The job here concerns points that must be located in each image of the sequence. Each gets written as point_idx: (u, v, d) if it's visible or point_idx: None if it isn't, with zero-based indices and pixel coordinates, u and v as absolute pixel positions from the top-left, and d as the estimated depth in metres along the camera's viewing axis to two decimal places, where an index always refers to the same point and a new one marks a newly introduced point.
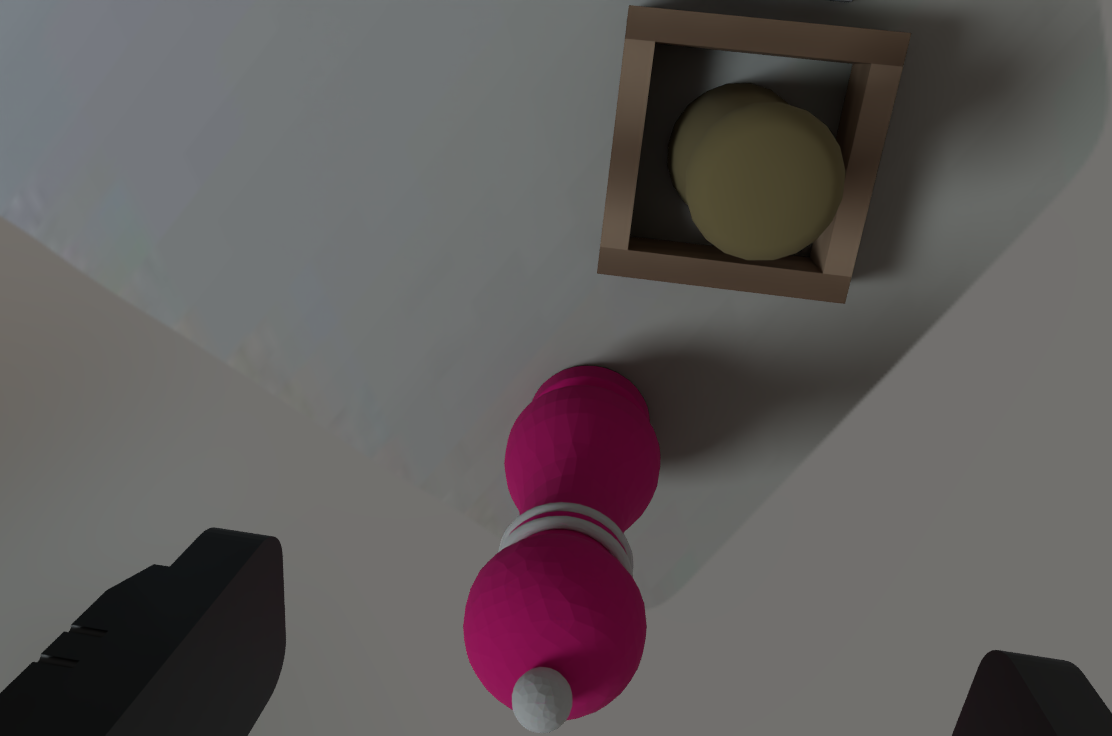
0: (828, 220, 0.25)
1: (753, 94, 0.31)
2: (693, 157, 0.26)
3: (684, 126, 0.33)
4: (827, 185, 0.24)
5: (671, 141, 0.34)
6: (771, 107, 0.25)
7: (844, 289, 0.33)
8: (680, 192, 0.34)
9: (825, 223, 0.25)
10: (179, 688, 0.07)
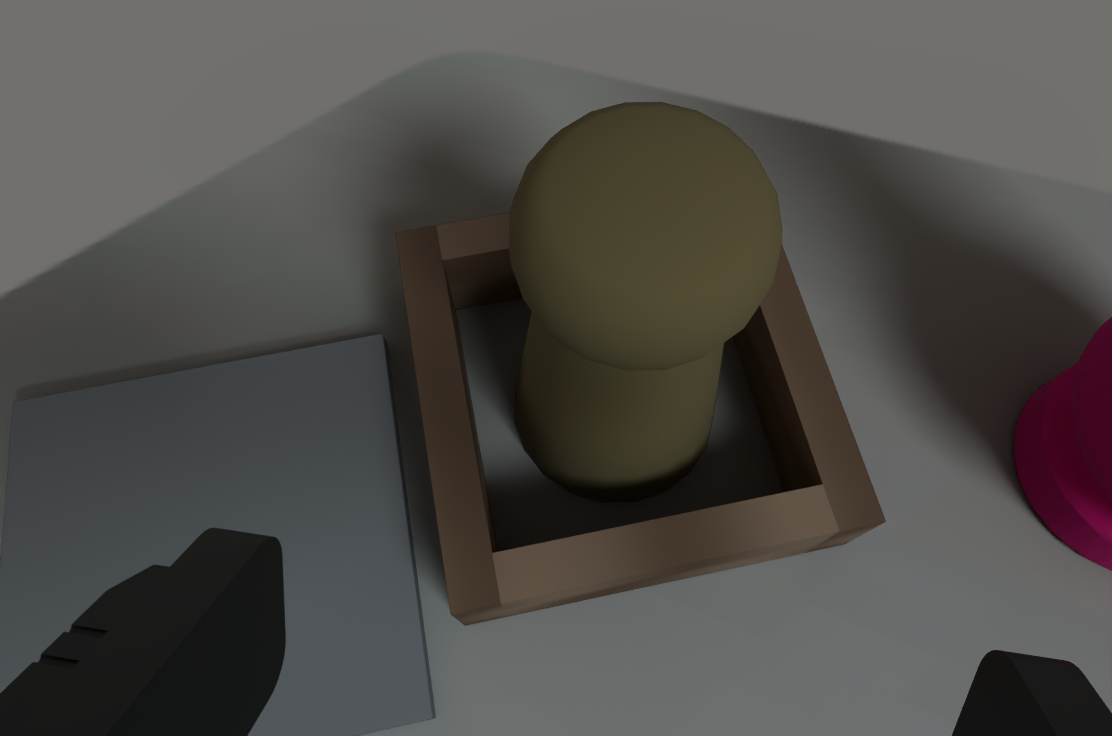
0: (661, 103, 0.15)
1: (524, 386, 0.21)
2: (644, 348, 0.14)
3: (600, 472, 0.21)
4: (609, 116, 0.14)
5: (628, 494, 0.22)
6: (519, 252, 0.14)
7: None
8: (695, 448, 0.21)
9: (668, 104, 0.15)
10: (178, 688, 0.07)
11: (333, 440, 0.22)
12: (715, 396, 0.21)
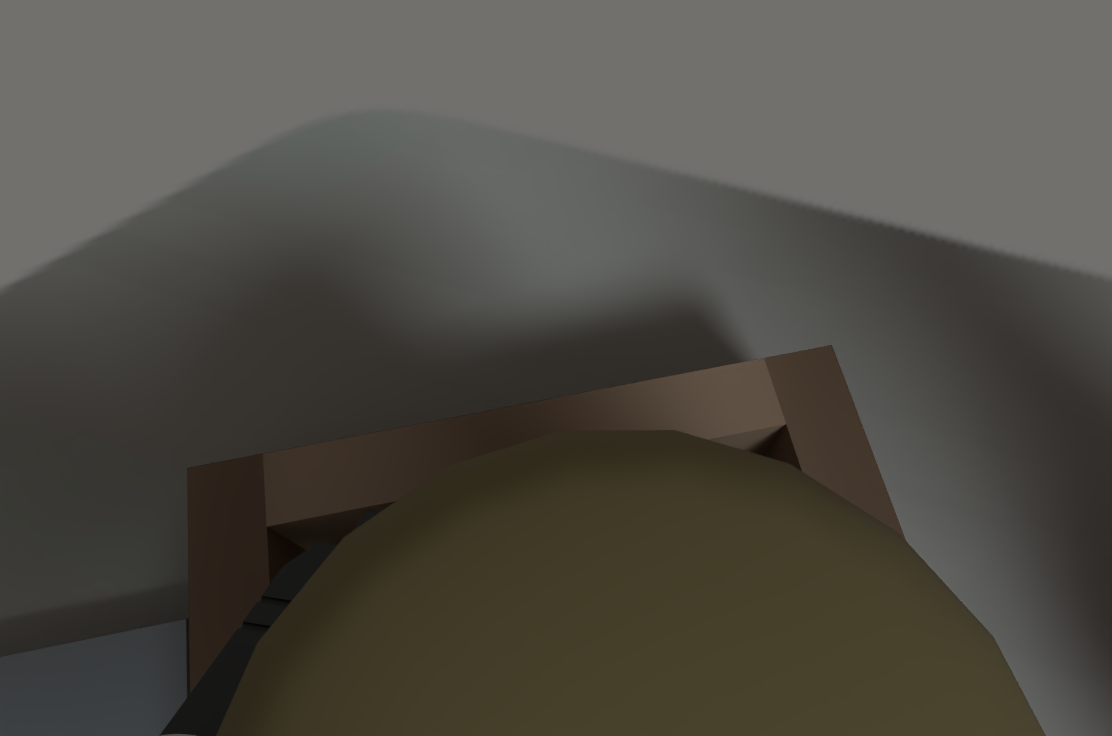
0: (683, 446, 0.05)
1: None
2: None
3: None
4: (509, 530, 0.04)
5: None
6: None
7: (799, 360, 0.13)
8: None
9: (704, 454, 0.05)
10: None
11: None
12: None
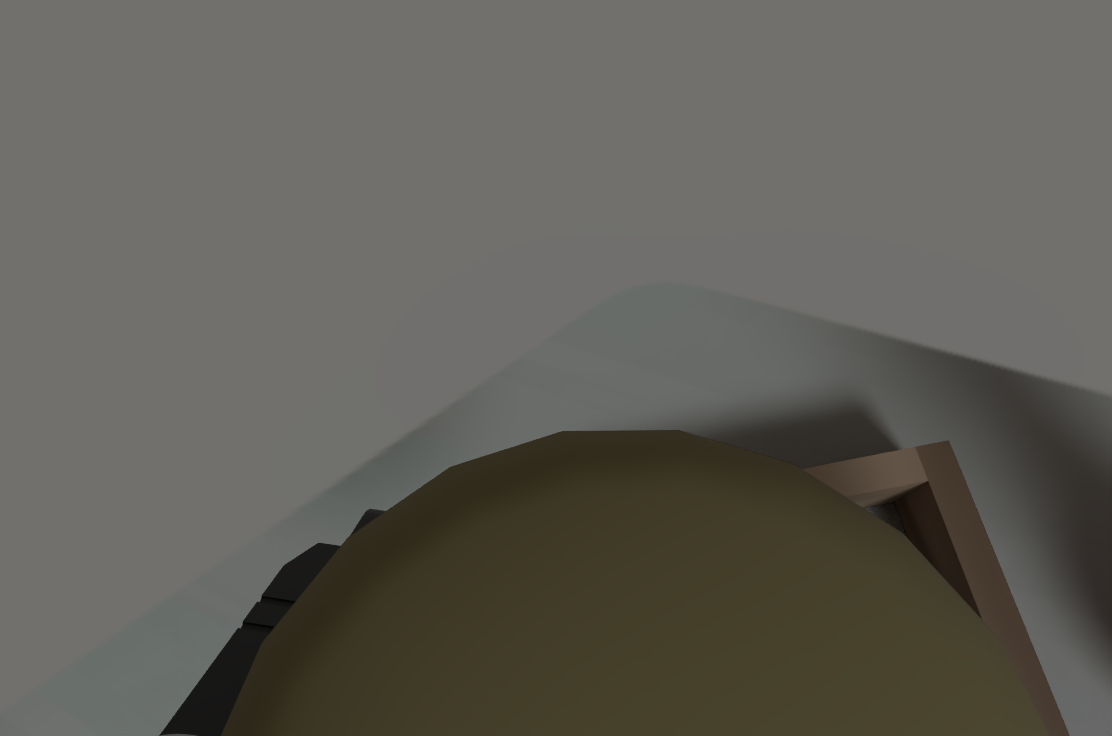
0: (688, 446, 0.05)
1: None
2: None
3: None
4: (513, 531, 0.04)
5: None
6: None
7: (933, 448, 0.26)
8: None
9: (708, 454, 0.05)
10: None
11: None
12: None
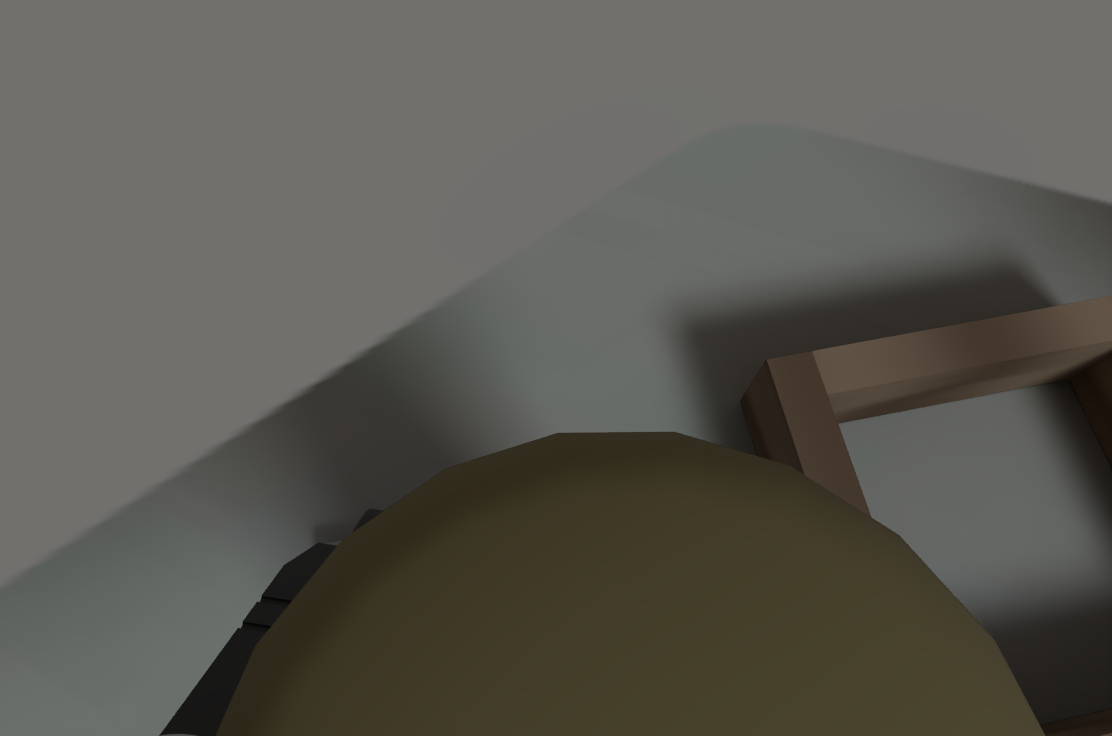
0: (684, 448, 0.05)
1: None
2: None
3: None
4: (509, 533, 0.04)
5: None
6: None
7: None
8: None
9: (704, 456, 0.05)
10: None
11: None
12: None
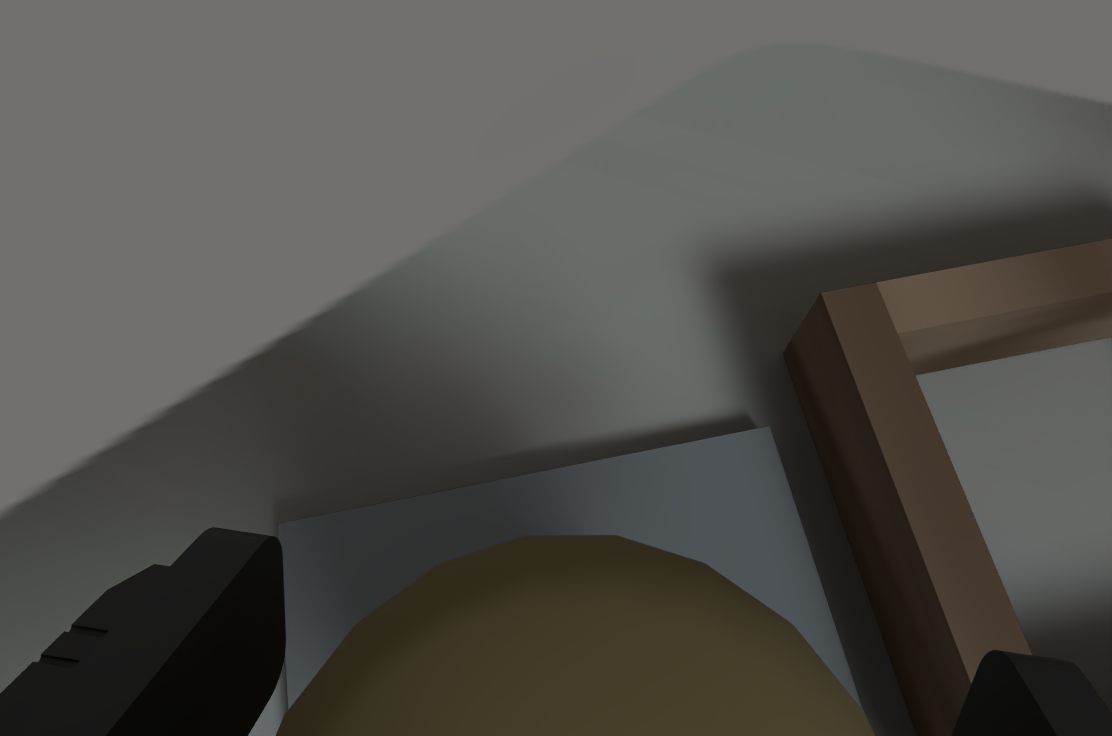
0: (621, 560, 0.06)
1: None
2: None
3: None
4: (481, 636, 0.05)
5: None
6: None
7: None
8: None
9: (637, 567, 0.06)
10: (179, 689, 0.07)
11: None
12: None
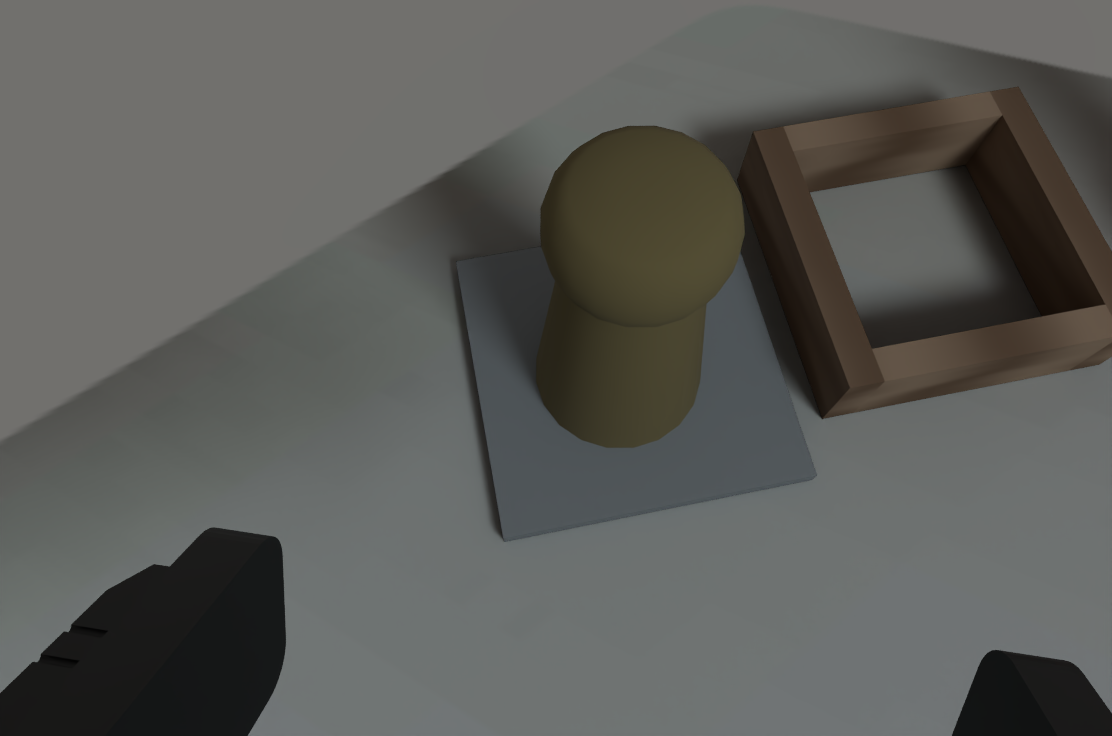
0: (656, 126, 0.20)
1: (545, 350, 0.26)
2: (641, 308, 0.19)
3: (606, 419, 0.25)
4: (617, 136, 0.19)
5: (628, 440, 0.27)
6: (549, 237, 0.19)
7: (1005, 92, 0.30)
8: (684, 402, 0.26)
9: (660, 127, 0.20)
10: (180, 689, 0.07)
11: None
12: (700, 360, 0.26)
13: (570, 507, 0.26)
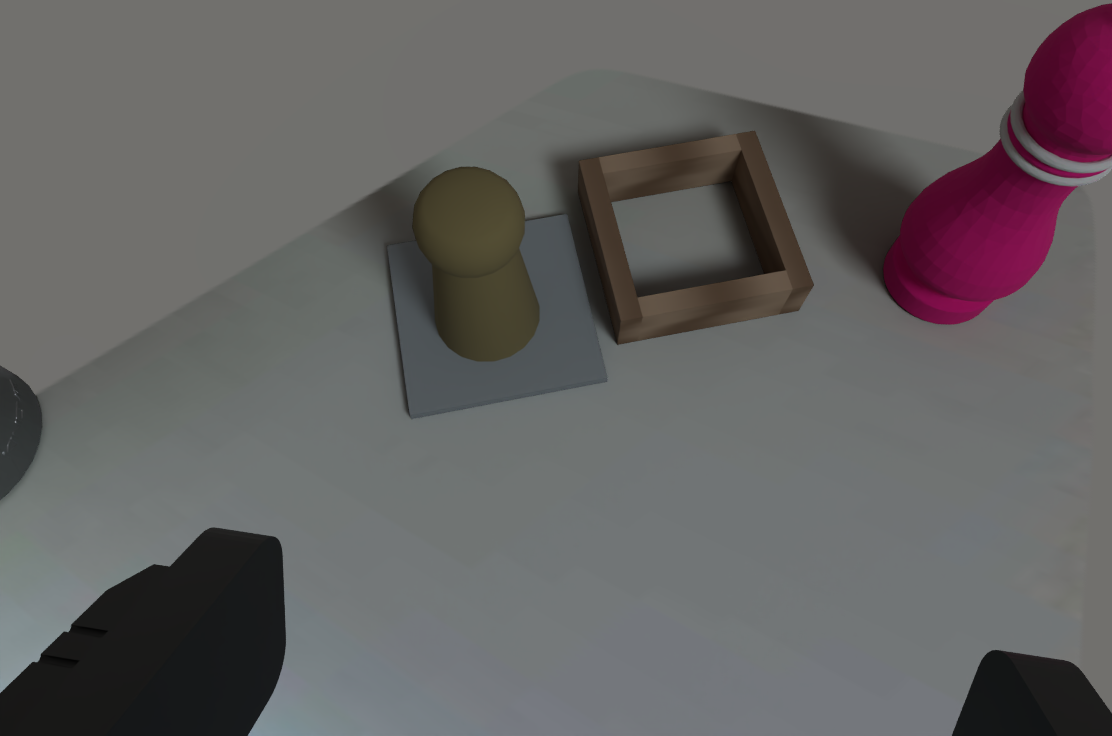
0: (476, 167, 0.36)
1: (434, 298, 0.42)
2: (462, 266, 0.35)
3: (471, 340, 0.41)
4: (452, 173, 0.35)
5: (489, 355, 0.43)
6: (414, 228, 0.35)
7: (745, 134, 0.46)
8: (522, 331, 0.42)
9: None
10: (179, 688, 0.07)
11: (548, 262, 0.46)
12: (530, 304, 0.42)
13: (452, 397, 0.42)
